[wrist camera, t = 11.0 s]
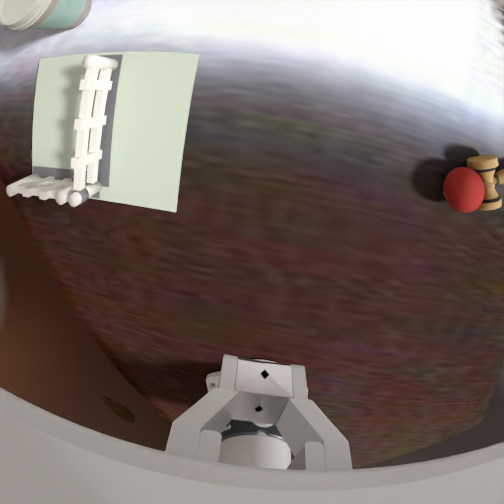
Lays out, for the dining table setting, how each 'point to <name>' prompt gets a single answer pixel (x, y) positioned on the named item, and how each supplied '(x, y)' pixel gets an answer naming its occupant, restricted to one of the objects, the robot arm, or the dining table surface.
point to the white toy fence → (90, 126)
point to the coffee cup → (43, 13)
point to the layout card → (119, 124)
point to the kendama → (474, 185)
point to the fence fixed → (43, 188)
